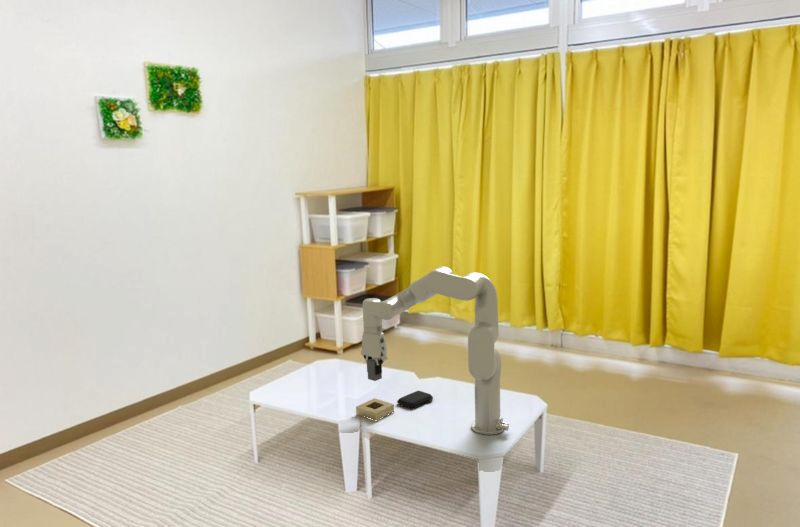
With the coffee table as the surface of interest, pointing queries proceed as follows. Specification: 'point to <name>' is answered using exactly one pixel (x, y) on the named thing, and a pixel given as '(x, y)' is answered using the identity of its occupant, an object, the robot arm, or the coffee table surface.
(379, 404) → the socket plate
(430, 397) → the carrying case or bag
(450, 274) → the robot arm
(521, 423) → the coffee table surface
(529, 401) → the coffee table surface
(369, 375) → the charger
